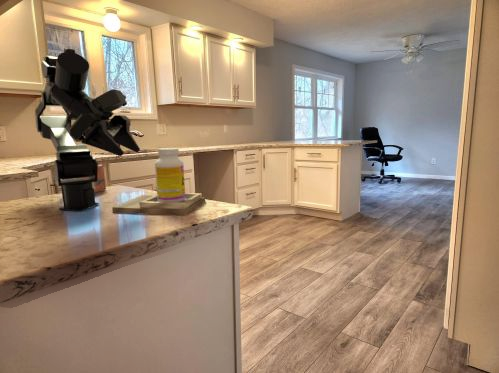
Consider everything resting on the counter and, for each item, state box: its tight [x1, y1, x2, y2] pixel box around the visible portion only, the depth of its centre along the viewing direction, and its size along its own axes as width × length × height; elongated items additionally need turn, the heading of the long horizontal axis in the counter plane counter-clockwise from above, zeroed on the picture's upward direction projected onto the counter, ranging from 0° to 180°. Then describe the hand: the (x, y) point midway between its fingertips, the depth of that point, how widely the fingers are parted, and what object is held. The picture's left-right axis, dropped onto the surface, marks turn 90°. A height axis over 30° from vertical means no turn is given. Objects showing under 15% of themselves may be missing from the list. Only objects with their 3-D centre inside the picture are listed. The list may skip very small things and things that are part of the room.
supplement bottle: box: [154, 147, 186, 203], centre depth 76 cm, size 7×7×13 cm
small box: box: [64, 164, 107, 194], centre depth 95 cm, size 8×6×10 cm
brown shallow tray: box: [111, 192, 206, 217], centre depth 78 cm, size 18×13×2 cm
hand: (131, 152), depth 73 cm, fingers open, 9 cm apart
